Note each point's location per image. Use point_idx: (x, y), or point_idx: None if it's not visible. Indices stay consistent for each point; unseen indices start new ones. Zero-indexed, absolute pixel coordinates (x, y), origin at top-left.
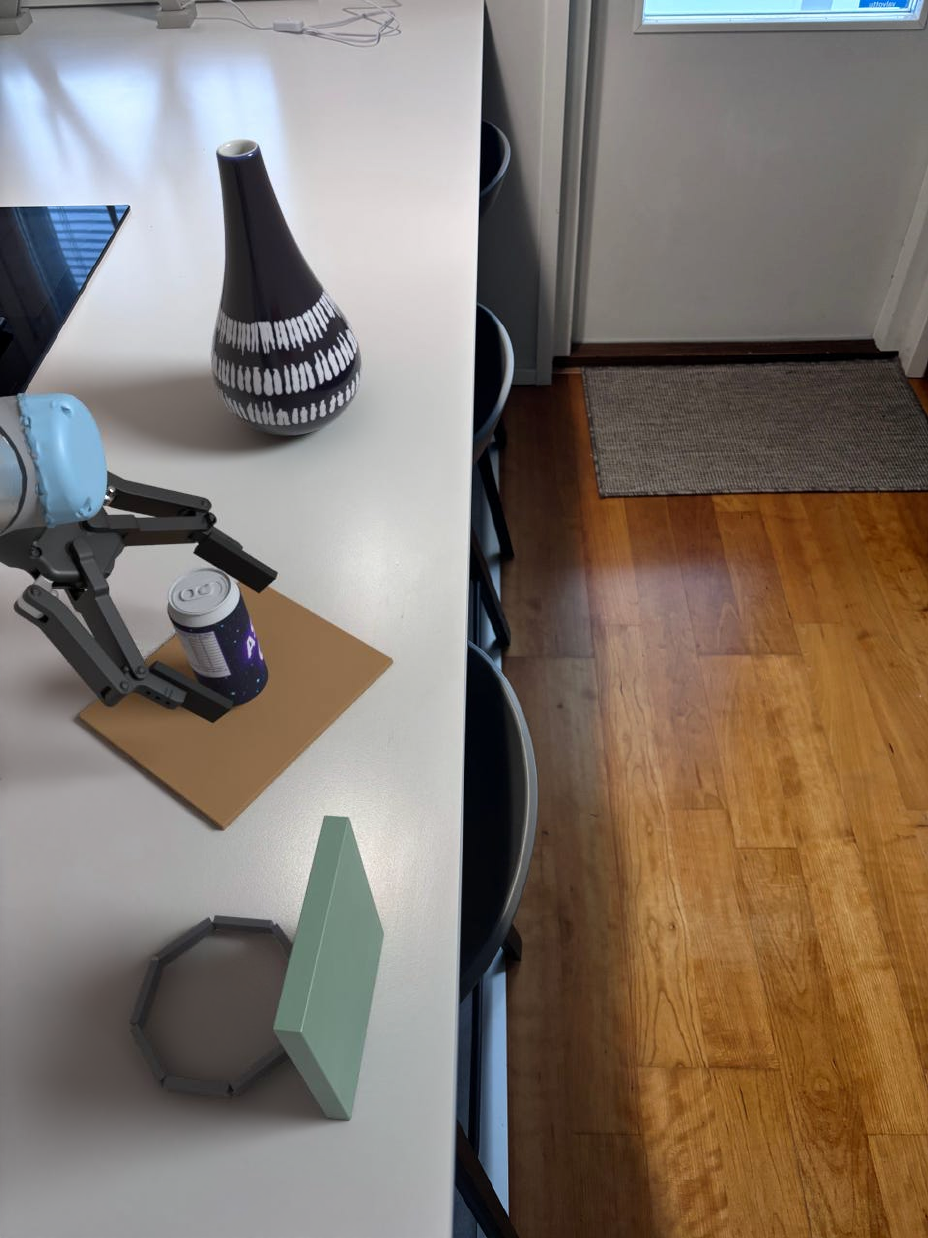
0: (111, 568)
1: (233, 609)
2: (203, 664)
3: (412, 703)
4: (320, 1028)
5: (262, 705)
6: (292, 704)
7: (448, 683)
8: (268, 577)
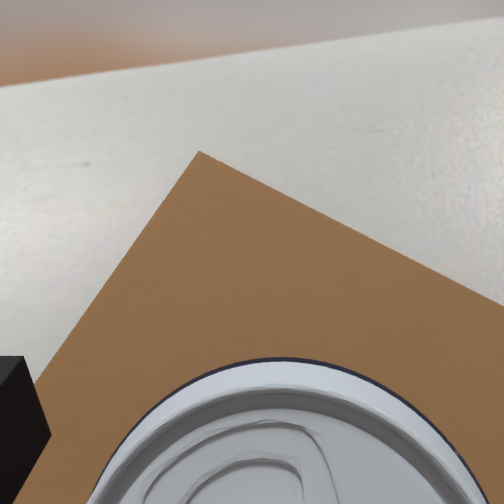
0: None
1: (340, 371)
2: None
3: (291, 110)
4: None
5: None
6: (330, 319)
7: (243, 64)
8: (15, 382)
